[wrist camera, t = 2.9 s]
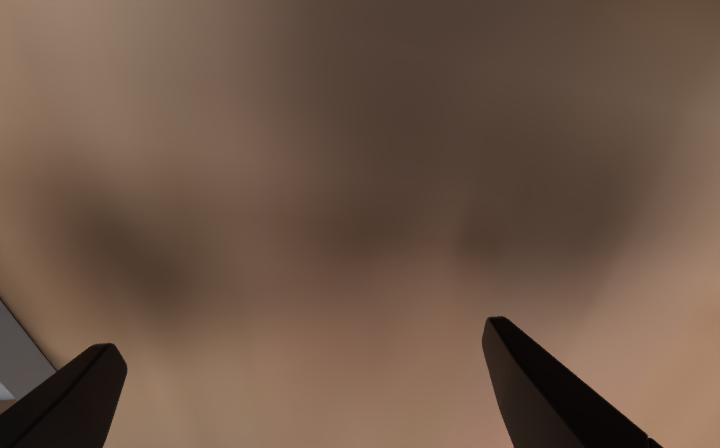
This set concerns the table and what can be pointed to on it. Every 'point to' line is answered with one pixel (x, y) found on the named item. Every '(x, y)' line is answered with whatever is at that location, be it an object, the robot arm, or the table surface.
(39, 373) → the box
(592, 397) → the robot arm
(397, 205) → the table surface
